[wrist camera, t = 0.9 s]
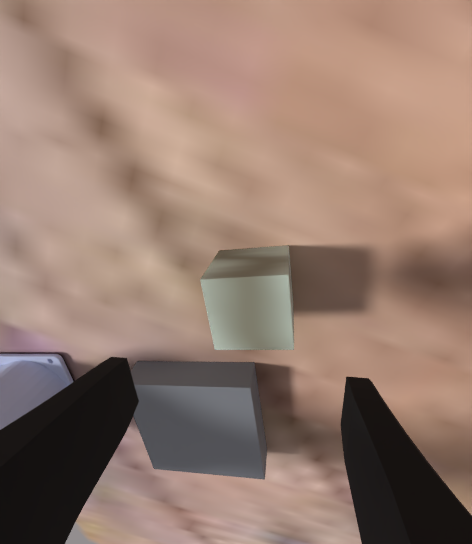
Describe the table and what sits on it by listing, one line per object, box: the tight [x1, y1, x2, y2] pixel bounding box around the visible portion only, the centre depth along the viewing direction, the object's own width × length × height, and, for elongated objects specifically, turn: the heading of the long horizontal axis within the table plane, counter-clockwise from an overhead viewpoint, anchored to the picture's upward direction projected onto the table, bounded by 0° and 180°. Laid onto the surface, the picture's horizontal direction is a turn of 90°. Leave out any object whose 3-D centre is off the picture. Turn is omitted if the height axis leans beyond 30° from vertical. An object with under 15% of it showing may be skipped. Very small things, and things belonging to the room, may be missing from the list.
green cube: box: [200, 245, 294, 350], centre depth 17 cm, size 4×4×4 cm
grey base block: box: [131, 361, 267, 479], centre depth 24 cm, size 10×10×3 cm
